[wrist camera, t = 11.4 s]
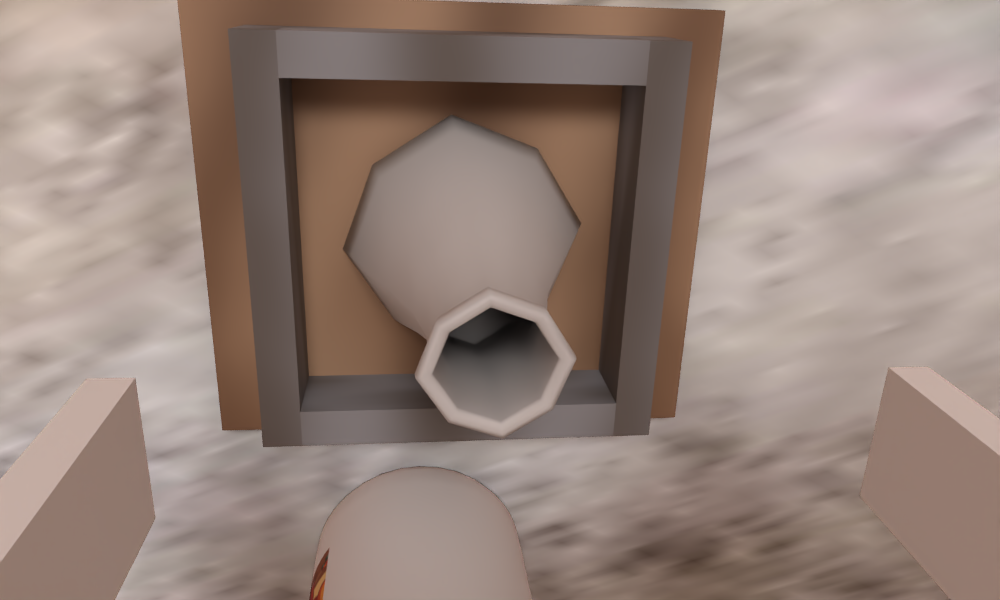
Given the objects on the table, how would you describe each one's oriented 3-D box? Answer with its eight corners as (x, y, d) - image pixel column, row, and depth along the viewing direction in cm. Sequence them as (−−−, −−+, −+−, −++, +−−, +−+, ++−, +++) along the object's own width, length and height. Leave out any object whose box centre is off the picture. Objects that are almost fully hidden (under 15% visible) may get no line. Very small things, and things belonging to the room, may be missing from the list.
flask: (476, 374, 28) (514, 566, 19) (302, 250, 26) (246, 399, 16) (617, 216, 26) (735, 340, 17) (446, 70, 24) (475, 120, 15)
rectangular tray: (713, 9, 25) (759, 12, 22) (666, 404, 30) (698, 454, 27) (185, -8, 23) (150, -7, 20) (228, 416, 28) (206, 471, 25)
